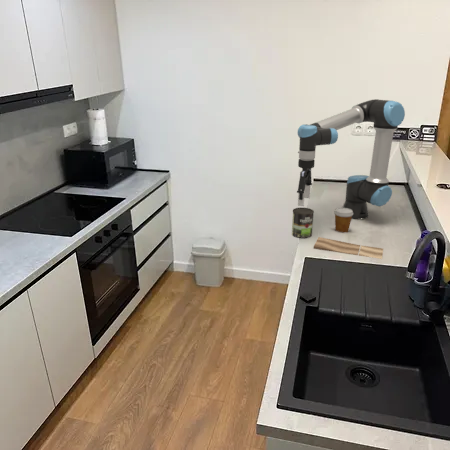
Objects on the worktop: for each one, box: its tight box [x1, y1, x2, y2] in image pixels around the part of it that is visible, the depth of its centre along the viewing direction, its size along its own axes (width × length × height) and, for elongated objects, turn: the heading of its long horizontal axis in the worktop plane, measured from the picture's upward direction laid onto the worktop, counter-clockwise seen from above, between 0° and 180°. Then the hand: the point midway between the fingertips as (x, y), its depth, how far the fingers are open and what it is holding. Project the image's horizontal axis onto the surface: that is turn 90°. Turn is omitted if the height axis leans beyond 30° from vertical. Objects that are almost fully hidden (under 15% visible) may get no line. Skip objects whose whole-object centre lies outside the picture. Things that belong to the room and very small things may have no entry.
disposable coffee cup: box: [334, 207, 353, 233], centre depth 221 cm, size 10×10×12 cm
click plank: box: [313, 236, 361, 256], centre depth 202 cm, size 12×20×1 cm, turn 68°
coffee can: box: [291, 207, 315, 240], centre depth 215 cm, size 10×10×14 cm
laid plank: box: [358, 244, 384, 260], centre depth 197 cm, size 12×10×1 cm
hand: (303, 201), depth 211 cm, fingers open, 13 cm apart
